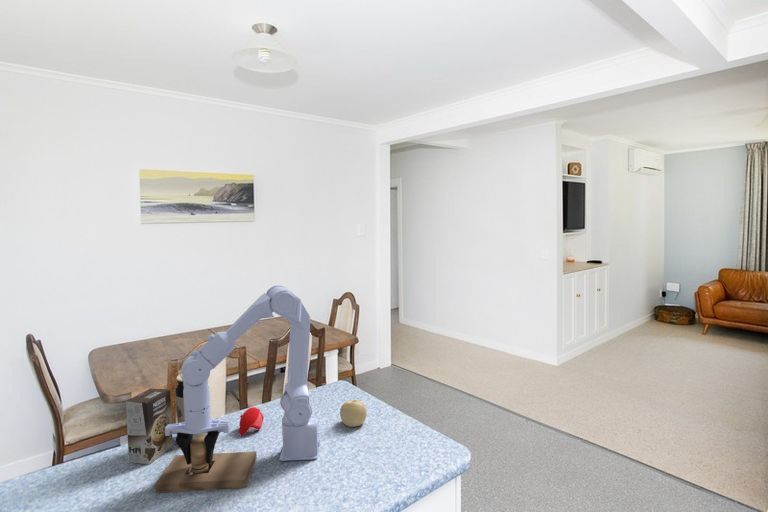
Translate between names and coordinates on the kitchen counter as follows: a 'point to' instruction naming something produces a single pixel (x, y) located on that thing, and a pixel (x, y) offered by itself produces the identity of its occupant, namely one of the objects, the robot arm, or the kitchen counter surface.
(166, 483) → the walnut board
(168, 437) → the coffee box
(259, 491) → the kitchen counter surface
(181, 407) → the travel mug
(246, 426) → the cap
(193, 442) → the oak peg
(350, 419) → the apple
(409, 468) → the kitchen counter surface
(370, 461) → the kitchen counter surface
